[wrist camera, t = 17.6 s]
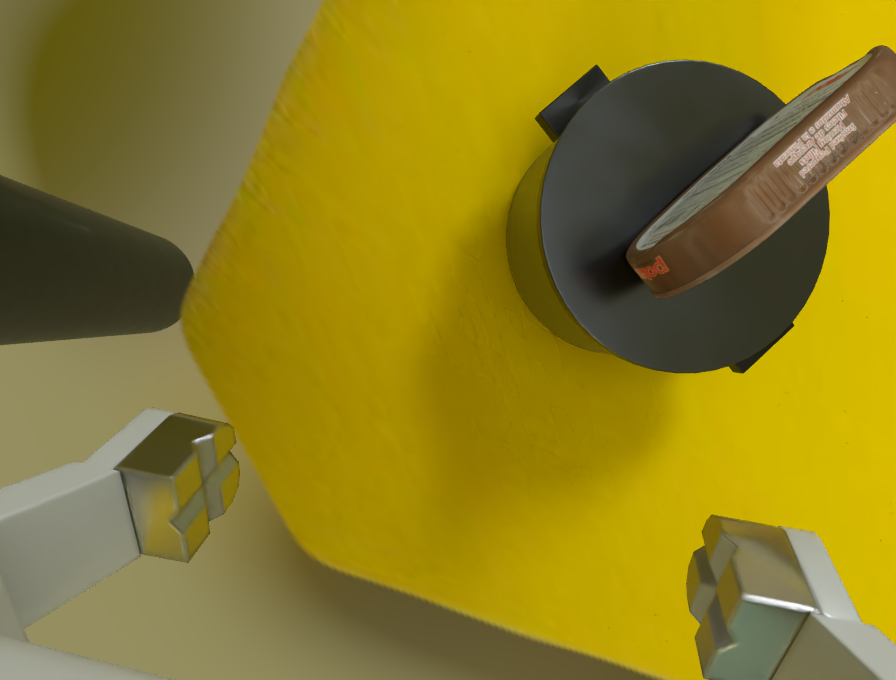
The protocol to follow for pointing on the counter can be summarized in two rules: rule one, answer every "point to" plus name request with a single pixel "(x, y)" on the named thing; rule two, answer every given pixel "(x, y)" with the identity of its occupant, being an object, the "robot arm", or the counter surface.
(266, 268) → the counter surface
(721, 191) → the tin
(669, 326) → the stockpot
